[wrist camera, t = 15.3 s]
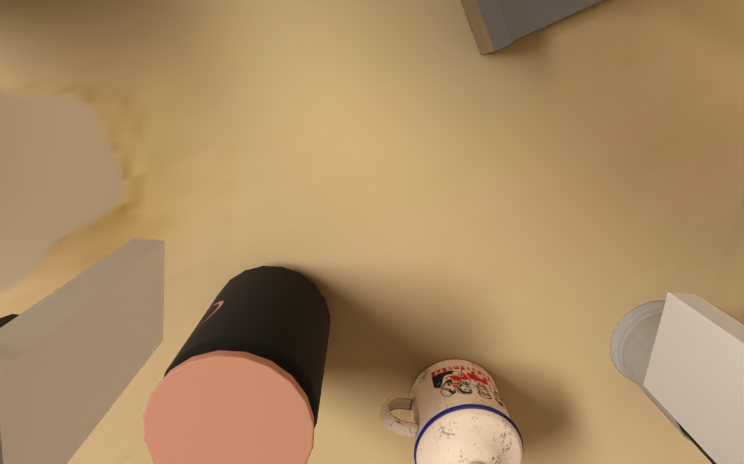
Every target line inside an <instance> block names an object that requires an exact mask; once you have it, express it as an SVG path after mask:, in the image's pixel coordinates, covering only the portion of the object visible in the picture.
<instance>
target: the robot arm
mask: <svg viewBox="0 0 744 464" xmlns="http://www.w3.org/2000/svg"><path fill="white" fill-rule="evenodd" d="M163 308H164V241H161V240H151V239H142V238H133V239H131V240H130V241H128V242H127V243H125V244H124V245H122V246H121V247H119V248H118V249H116V250H115V251H113V252H112V253H110V254H109V255H108V256H106V257H105V258H103V259H102V260H100V261H99V262H97V263H96V264H94V265H93V266H91V267H90V268H88V269H87V270H85V271H84V272H82V273H81V274H79V275H78V276H76V277H75V278H73V279H72V280H71V281H69V282H68V283H66V284H65V285H63V286H62V287H60V288H59V289H57V290H56V291H54V292H53V293H51V294H50V295H48V296H47V297H45V298H44V299H42V300H41V301H39V302H38V303H36V304H35V305H33V306H32V307H31V308H29V309H28V310H26V311H25V312H23V313H22V314H20V315H17V314H11V315H8V316H5V317H3V318H0V464H67V463H68V461H69V460H70V459H71V458H72V456H73V455H74V454H75V452H76V451H77V450H78V449H79V447H80V446H81V445H82V443H83V442H84V441H85V440H86V438H87V437H88V436H89V434H90V433H91V432H92V431H93V429H94V428H95V427H96V425H97V424H98V423H99V422H100V420H101V419H102V418H103V416H104V415H105V414H106V413H107V411H108V410H109V409H110V408H111V406H112V405H113V404H114V402H115V401H116V400H117V399H118V397H119V396H120V395H121V393H122V392H123V391H124V390H125V388H126V387H127V386H128V384H129V383H130V382H131V381H132V379H133V378H134V377H135V375H136V374H137V373H138V372H139V370H140V369H141V368H142V366H143V365H144V364H145V363H146V361H147V360H148V359H149V357H150V356H151V355H152V354H153V352H154V351H155V350H156V348H157V347H158V346H159V345H160V343H161V342H162V341H163ZM643 385H644V386H645V387H646V388H647V389H648V390H649V392H650V393H651V394H652V395H653V396H654V397H655V398H656V399H657V400H658V401H659V402H660V403H661V404H662V406H663V407H664V408H665V409H666V410H667V411H668V412H669V413H670V414H671V415H672V416H673V417H674V418H675V420H676V421H677V422H678V423H679V424H680V425H681V426H682V427H683V428H684V429H685V430H686V431H687V432H688V434H689V435H690V436H691V437H692V438H693V439H694V440H695V441H696V442H697V443H698V444H699V445H700V446H701V448H702V449H703V450H704V451H705V452H706V453H707V454H708V455H709V456H710V457H711V458H712V459H713V460H714V462H715V463H716V464H744V325H743V324H742V323H740V322H739V321H737V320H735V319H734V318H732V317H731V316H729V315H728V314H726V313H724V312H723V311H721V310H720V309H718V308H717V307H715V306H713V305H712V304H710V303H709V302H707V301H706V300H704V299H702V298H701V297H699V296H698V295H696V294H686V293H676V292H668V294H667V298H666V301H665V305H664V309H663V313H662V316H661V320H660V324H659V328H658V331H657V335H656V339H655V343H654V346H653V350H652V354H651V358H650V361H649V365H648V369H647V373H646V376H645V380H644V384H643Z"/></svg>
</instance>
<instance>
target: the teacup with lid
mask: <svg viewBox="0 0 744 464" xmlns="http://www.w3.org/2000/svg"><path fill="white" fill-rule="evenodd" d="M394 409H406V410H410V411H411V418H412V423H410V422H405V421H402V420H400V419H398V418H396V417H395V416H393V415H392V414H391V412H390V411H392V410H394ZM380 418H381V421H382V423H383V425H384V426H385V427H386V428H388V429H389V430H390V431H392V432H394V433H396V434H399V435H402V436H406V437H411V438H414V439H415V449H414V459H415V464H521V463H522V459H523V441H522V438H521V435H520V432H519V430H518V428H517V427H516V425H515V424H514V423H513V421H512V420H511V419H510V417H509V414H508V412H507V410H506V408H505V405H504V403H503V401H502V398H501V396H500V394H499V392H498V389H497V387H496V385H495V382H494V381H493V379H492V377H491V376H490V375H489V374H488V372H486V371H485V370H484V369H483V368H482V367H480V366H478V365H477V364H475V363H472V362H469V361H465V360H458V359H453V360H445V361H441V362H438V363H436V364H434V365H432V366H430V367H428V368H427V369H426V370H424V371H423V372H422V373H421V374H420V375H419V376H418V378H417V379H416V381H415V382H414V384H413V386H412V389H411V392H410V397H408V396H394V397H391V398H389V399H387V400H386V401H385V402H384V404H383V405H382V408H381V412H380Z"/></svg>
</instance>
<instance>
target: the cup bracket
mask: <svg viewBox="0 0 744 464" xmlns="http://www.w3.org/2000/svg"><path fill="white" fill-rule="evenodd" d="M601 1H603V0H461V2H462V5H463V8H464V10H465V13H466V16H467V19H468V21H469V24H470V27H471V29H472V32H473V35H474V38H475V40H476V43H477V46H478V48H479V51H480V54H481V55H482V54H486V53H491V52H495V51H497V50H499V49H501V48H504V47H506V46H508V45H510V44H512V41H514V40H516V39H518V38H521V37H523V36H525V35H527V34H529V33H532V32H534V31H536V30H538V29H541V28H543V27H545V26H547V25H549V24H552V23H554V22H556V21H558V20H561V19H563V18H565V17H567V16H569V15H572V14H574V13H576V12H578V11H581V10H583V9H585V8H587V7H589V6H592V5H594V4H596V3H598V2H601Z"/></svg>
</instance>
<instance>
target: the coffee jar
mask: <svg viewBox="0 0 744 464" xmlns="http://www.w3.org/2000/svg"><path fill="white" fill-rule="evenodd" d="M329 325H330V315H329V311H328V308H327V304H326V301H325V299H324V297H323V296H322V294H321V293H320V292H319V290H318V289H317V287H316V286H315V285H314V284H313V283H312V282H310V281H309V280H308V279H306V278H305V277H304V276H302V275H301V274H300V273H297V272H294V271H291V270H289V269H286V268H283V267H271V266H262V267H258V268H254V269H250V270H245V271H244V272H242V273H241V274H239V275H237V276H236V277H234V278H233V279H231V280H230V281H229V282H228V283H227V284H226V286H225V287H224V288H223V289H222V291H221V292H220V293H219V294H218V296H217V297H216V299H215V300H214V302H213V303H212V305H211V306H210V308H209V309H208V311H207V312H206V313H205V315H204V316H203V318H202V319H201V321H200V322H199V324H198V325H197V327H196V328H195V330H194V331H193V333H192V334H191V335H190V337H189V338H188V340H187V341H186V343H185V344H184V346H183V347H182V349H181V350H180V352H179V353H178V354H177V356H176V357H175V359H174V360H173V362H172V363H171V365H170V366H169V368H168V369H167V371H166V372H165V375H164V378H163V380H162V381H161V382H160V383H159V385H158V386H157V387H156V388H155V389H154V391H153V392H152V393H151V395H150V398H149V401H148V404H147V407H146V410H145V413H144V439H145V443H146V445H147V447H148V450H149V452H150V455H151V457H152V459H153V462H154V463H155V464H306V463H307V461H308V458H309V456H310V454H311V451H312V449H313V441H314V428H315V426H316V424H317V418H318V410H319V403H320V396H321V388H322V381H323V374H324V366H325V359H326V352H327V344H328V337H329Z"/></svg>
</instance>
